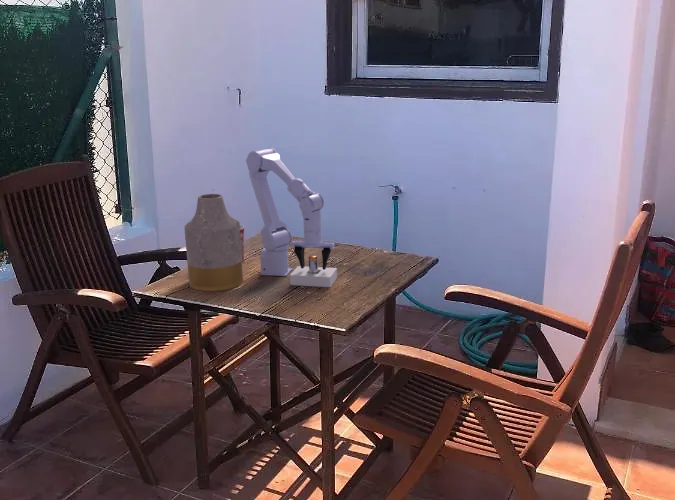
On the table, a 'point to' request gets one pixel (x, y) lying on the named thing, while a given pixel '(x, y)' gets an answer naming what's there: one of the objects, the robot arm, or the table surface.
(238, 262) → the vase
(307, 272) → the block
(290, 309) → the table surface
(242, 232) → the mug
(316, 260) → the pin
